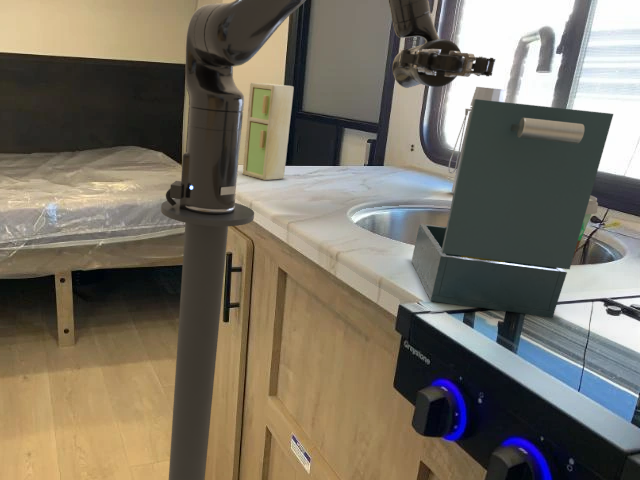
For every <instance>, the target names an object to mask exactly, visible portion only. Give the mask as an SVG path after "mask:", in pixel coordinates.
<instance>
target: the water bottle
mask: <svg viewBox="0 0 640 480" xmlns="http://www.w3.org/2000/svg"><path fill="white" fill-rule="evenodd" d="M505 95H506V89H503V88H494V87H493V88H492V87H485V86H484V87H483V86H476V87H475V90H474V92H473V96H472V99H471V102H470V107H469V108H465V109H464V119H463V121H462V123H461V127H460V130H459V133H458V136H457V138H456V141H455V143H454V148H453V149H452V153H451V156H450V159H449V161H448V174H454V173H455V174H454V179H453V183H452V188H451V193H452V194H454V190H455V185H456V180H457V176H458V171H459V166H460V162H461V157H462V152H463V147H464V143H465V138H466V133H467V129H468V124H469V119H470V115H471V110H472V105H473V101H474V99H479V100H489V101H498V102H505V97H506V96H505ZM467 116H468V117H467ZM466 120H467V121H466ZM460 135H461V137H460ZM459 138H460V142H459ZM458 142H459V146H458V152H457V157H456V161H455V167H454V169H453V170H452V171H451V169H450V168H451V162H452V160H453V156H454V154H455V150H456V147H457V144H458Z"/></svg>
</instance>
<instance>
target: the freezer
mask: <svg viewBox="0 0 640 480" xmlns="http://www.w3.org/2000/svg"><path fill="white" fill-rule="evenodd" d="M446 227H447V226H443V225H436V224H427V223H419V225H418V230H417V234H416V238H415V244H414V248H413V253H412V257H411V264H412V265H413V267H414V269H415V271H416V274H417V276H418V278H419V280H420V282H421V284H422V286H423V289H424V291H425V292H426V294H427V296H428V299H429V301H430V302H433V303H434V302H435V303H442V304H449V305H455V306H456V305H458V306H464V307H472V308H478V309H479V308H480V309H488V310H495V311H502V312H508V313H509V312H510V313H517V314H525V315H533V316H539V317H548V318H554V315H555V312H556V309H557V305H558V301H559V299H560V296H561V293H562V289H563V286H564V283H565V281H566V277H567V275H568V272H567V271H566V269H562V268H554V267H546V266H538V265H531V264H523V263H515V262H507V261H505V262H504V263H503V262H495V261H487V260H479V259H472V258H464V257H461V256H460V255H452V254H445V253H442V252H441V251H442V246H443V241H444V237H445V232H446Z"/></svg>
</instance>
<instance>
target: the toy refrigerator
mask: <svg viewBox="0 0 640 480" xmlns="http://www.w3.org/2000/svg"><path fill="white" fill-rule="evenodd" d="M249 84H250V85H249V95H248V96H249V97H248V107H247V118H246V131H245V141H244V142H245V143H244V153H243V165H242V166H243V167H242V175H245V176H249V177H253V178H256V179H258V180H259V179H260V180H264V181H269V180H270V181H271V180H283V179H284V178H285V172H286V164H287V163H286V162H287V153H288V144H289V136H290V135H289V134H290V126H291V118H292V117H291V116H292V110H293V109H292V108H293V100H294V90H295V89H294V88H295V87H294V86H293V85H285V84H277V83H266V82H265V83H264V82H250V83H249Z"/></svg>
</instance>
